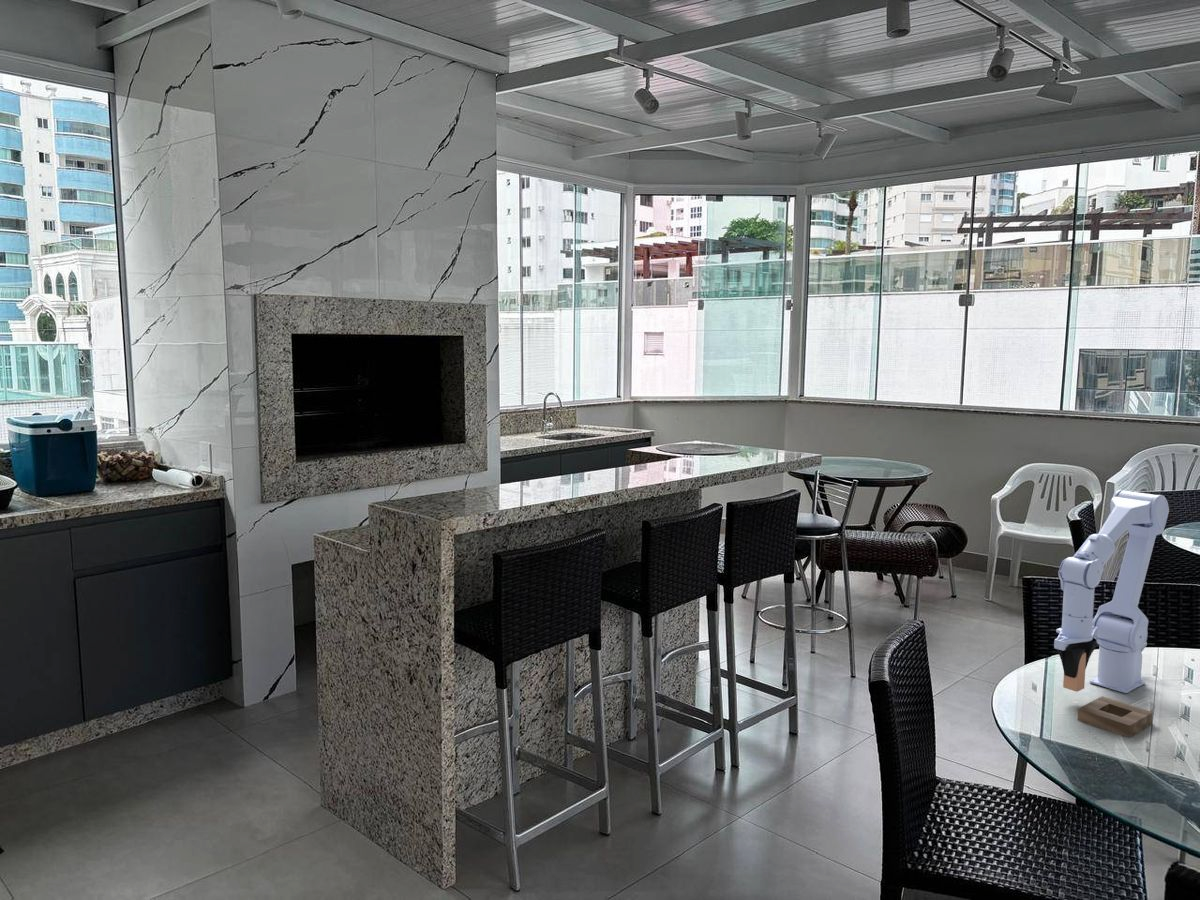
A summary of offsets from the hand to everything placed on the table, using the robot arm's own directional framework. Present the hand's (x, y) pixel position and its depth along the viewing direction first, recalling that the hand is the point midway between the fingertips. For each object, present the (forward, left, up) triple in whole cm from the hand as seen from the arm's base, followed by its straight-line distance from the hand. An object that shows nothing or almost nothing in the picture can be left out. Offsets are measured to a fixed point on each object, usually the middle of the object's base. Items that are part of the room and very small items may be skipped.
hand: (1074, 674), depth 189 cm
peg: (0, 0, -3) cm, 3 cm away
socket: (+3, +10, -6) cm, 12 cm away
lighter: (-27, -1, -6) cm, 28 cm away
